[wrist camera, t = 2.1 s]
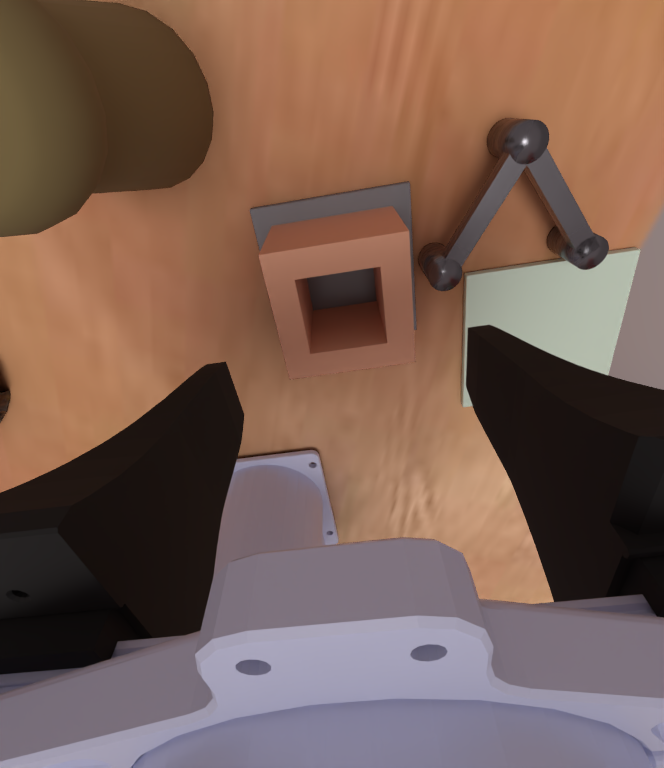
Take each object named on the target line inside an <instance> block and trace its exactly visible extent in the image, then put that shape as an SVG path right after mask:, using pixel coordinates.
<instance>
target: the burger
mask: <svg viewBox="0 0 664 768" xmlns="http://www.w3.org/2000/svg"><path fill="white" fill-rule="evenodd" d="M9 401H10V391H8V390H7V391H6V392H3V393H0V418H1V419H0V422H1V421H2V419H3V418H4V417H3V416H5V414H6V412H7V406H8V404H9Z"/></svg>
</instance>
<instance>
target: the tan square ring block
mask: <svg viewBox="0 0 664 768" xmlns="http://www.w3.org/2000/svg"><path fill="white" fill-rule="evenodd" d="M258 256H259V260H260V264H261V268H262V272H263V276H264V280H265V284H266V288H267V292H268V296H269V299H270V303H271V307H272V311H273V315H274V319H275V323H276V327H277V331H278V335H279V339H280V343H281V347H282V351H283V355H284V359H285V363H286V367H287V371H288V374H289V378H290V379H297V378H305V377H312V376H319V375H327V374H334V373H341V372H349V371H356V370H363V369H370V368H378V367H385V366H392V365H400V364H407V363H414V362H416V360H415V339H414V319H413V298H412V278H411V257H410V237H409V230H408V228H407V227H406V225H405V224H404V222H403V221H402V219H401V218H400V216H399V215H398V213H397V212H396V210H395V209H394V207H393V206H388V207H382V208H376V209H370V210H364V211H358V212H352V213H346V214H340V215H334V216H328V217H322V218H316V219H310V220H304V221H298V222H292V223H286V224H280V225H274V226H271V229H270V231H269V233H268V235H267V237H266V239H265V242H264V244H263V246H262V248H261V250H260V253H259V255H258ZM368 268H373V270H374V280H375V290H376V300H377V301H374V302H367V303H360V304H354V305H347V306H340V307H334V308H327V309H320V310H313V307H312V302H311V297H310V292H309V287H308V282H307V278H310V277H317V276H323V275H329V274H336V273H342V272H349V271H355V270H362V269H368Z"/></svg>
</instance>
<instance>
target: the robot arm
mask: <svg viewBox="0 0 664 768" xmlns="http://www.w3.org/2000/svg"><path fill="white" fill-rule="evenodd" d="M466 388H467V391H468V394H469V397H470V400H471V402H472V405H473V408H474V411H475V413H476V415H477V417H478V419H479V421H480V423H481V425H482V427H483V429H484V431H485V433H486V434H487V436H488V438H489V440H490V442H491V444H492V446H493V448H494V449H495V451H496V453H497V455H498V457H499V459H500V461H501V463H502V464H503V466H504V468H505V470H506V472H507V474H508V476H509V478H510V480H511V483H512V485H513V487H514V490H515V492H516V495H517V498H518V500H519V503H520V505H521V508H522V510H523V513H524V515H525V518H526V521H527V524H528V526H529V529H530V532H531V535H532V537H533V540H534V543H535V545H536V548H537V551H538V554H539V557H540V560H541V563H542V566H543V569H544V572H545V575H546V578H547V581H548V584H549V587H550V590H551V593H552V596H553V599H554V602H550V603H539V604H526V603H516V602H506V601H497V600H487V599H479V598H478V594H477V591H476V588H475V585H474V581H473V578H472V575H471V572H470V569H469V567H468V565H467V562H466V560H465V558H464V556H463V553H461V552H459V551H457V550H455V549H453V548H451V547H449V546H447V545H445V544H443V543H441V542H439V541H437V540H434V539H423V538H407V537H401V538H391V539H382V540H372V541H362V542H353V543H343V544H337V543H338V533H337V529H336V524H335V520H334V516H333V512H332V507H331V503H330V499H329V495H328V490H327V486H326V482H325V477H324V473H323V469H322V465H321V460H320V456H319V453H318V452H317V451H314V450H306V451H298V452H290V453H282V454H274V455H266V456H257V457H249V458H241V459H237V457H238V453H239V449H240V445H241V440H242V432H243V423H244V413H243V410H242V407H241V404H240V401H239V398H238V395H237V393H236V390H235V387H234V384H233V381H232V378H231V375H230V372H229V369H228V367H227V364H226V362H221V363H214V364H207V365H205V366H203V367H202V368H201V369H199V370H198V371H197V372H195V373H194V374H193V375H192V376H191V377H189V378H188V379H187V380H186V381H185V382H184V383H182V384H181V385H180V386H179V387H178V388H176V389H175V390H174V391H173V392H172V393H171V394H169V395H168V396H167V397H166V398H165V399H164V400H162V401H161V402H160V403H158V404H157V405H156V406H155V407H153V408H152V409H151V410H150V411H148V412H147V413H146V414H144V415H143V416H142V417H141V418H139V419H138V420H137V421H135V422H134V423H133V424H131V425H130V426H128V427H127V428H125V429H124V430H122V431H121V432H119V433H118V434H116V435H115V436H113V437H112V438H110V439H109V440H107V441H105V442H104V443H102V444H100V445H99V446H97V447H95V448H93V449H91V450H90V451H88V452H86V453H84V454H82V455H81V456H79V457H77V458H75V459H74V460H72V461H70V462H68V463H66V464H64V465H62V466H60V467H58V468H56V469H54V470H52V471H50V472H48V473H46V474H43V475H41V476H39V477H37V478H35V479H33V480H30V481H28V482H26V483H24V484H21V485H19V486H17V487H14V488H12V489H9V490H7V491H4V492H2V493H0V768H664V390H661V389H657V388H653V387H649V386H645V385H641V384H637V383H633V382H629V381H625V380H622V379H618V378H614V377H611V376H608V375H605V374H602V373H599V372H596V371H593V370H590V369H587V368H584V367H582V366H579V365H576V364H574V363H571V362H569V361H567V360H564V359H562V358H559V357H557V356H555V355H552V354H550V353H548V352H546V351H544V350H542V349H539V348H537V347H535V346H533V345H531V344H529V343H527V342H525V341H523V340H521V339H519V338H517V337H515V336H513V335H511V334H509V333H507V332H505V331H503V330H501V329H499V328H497V327H494V326H492V325H483V326H476V327H469V328H468V337H467V368H466ZM311 462H314V464H311Z"/></svg>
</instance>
